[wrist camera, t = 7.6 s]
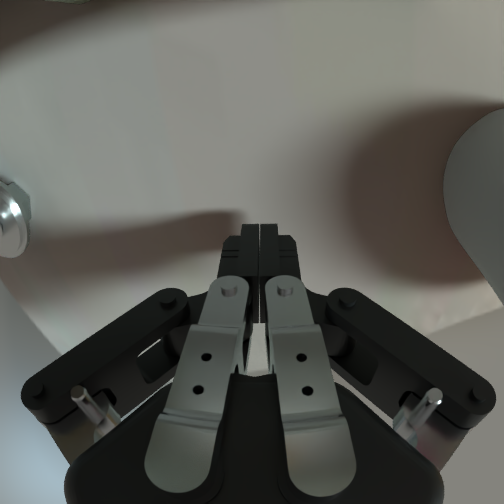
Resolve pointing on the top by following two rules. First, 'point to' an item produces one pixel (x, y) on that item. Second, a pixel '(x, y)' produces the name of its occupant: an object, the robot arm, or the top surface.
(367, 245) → the top surface
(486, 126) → the lumpy-topped squat cylinder
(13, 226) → the screw
